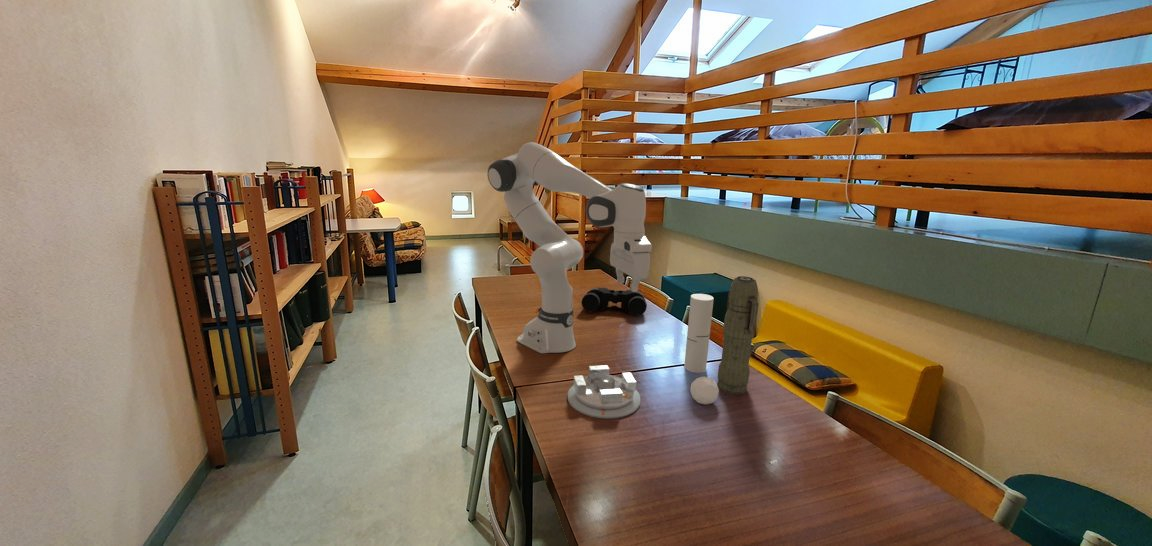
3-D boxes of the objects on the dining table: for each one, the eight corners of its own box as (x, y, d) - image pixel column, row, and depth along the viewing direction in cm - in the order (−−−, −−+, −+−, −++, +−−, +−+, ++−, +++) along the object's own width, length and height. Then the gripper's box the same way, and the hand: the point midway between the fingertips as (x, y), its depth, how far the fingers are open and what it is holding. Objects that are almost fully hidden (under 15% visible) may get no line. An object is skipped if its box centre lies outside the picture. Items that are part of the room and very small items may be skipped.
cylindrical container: (706, 373, 150) (714, 301, 144) (684, 371, 151) (691, 299, 145) (705, 364, 157) (712, 294, 150) (683, 362, 158) (690, 292, 152)
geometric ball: (708, 413, 131) (718, 402, 125) (682, 399, 133) (691, 388, 127) (716, 392, 136) (726, 380, 130) (691, 379, 138) (700, 367, 131)
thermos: (729, 376, 148) (741, 272, 140) (756, 393, 138) (772, 282, 129) (707, 381, 145) (719, 274, 136) (734, 399, 134) (748, 285, 126)
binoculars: (580, 313, 203) (581, 291, 201) (587, 302, 223) (588, 282, 221) (645, 318, 198) (647, 296, 197) (646, 307, 218) (647, 286, 216)
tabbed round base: (563, 397, 130) (563, 381, 129) (595, 375, 144) (595, 360, 143) (614, 417, 121) (615, 400, 120) (643, 391, 135) (644, 376, 133)
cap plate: (553, 401, 130) (553, 398, 130) (593, 374, 147) (593, 371, 147) (617, 427, 119) (617, 423, 118) (652, 395, 135) (652, 391, 135)
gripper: (605, 235, 141) (604, 278, 144) (634, 247, 122) (631, 297, 126) (624, 234, 143) (622, 277, 146) (655, 246, 124) (652, 295, 128)
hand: (627, 286), depth 136 cm, fingers open, 8 cm apart
